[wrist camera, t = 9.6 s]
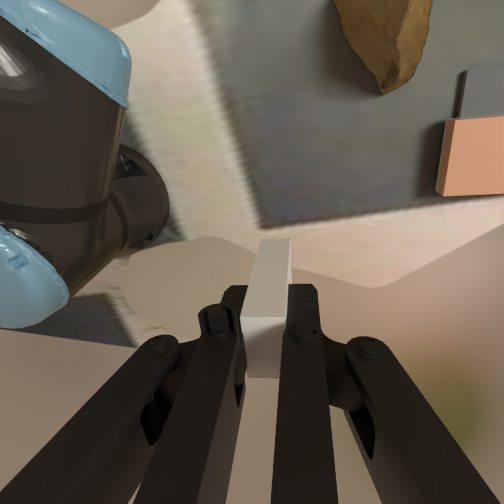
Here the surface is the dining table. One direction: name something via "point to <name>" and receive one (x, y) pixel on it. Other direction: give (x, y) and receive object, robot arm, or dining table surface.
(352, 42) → the rock
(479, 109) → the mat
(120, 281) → the dining table surface
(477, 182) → the tile
